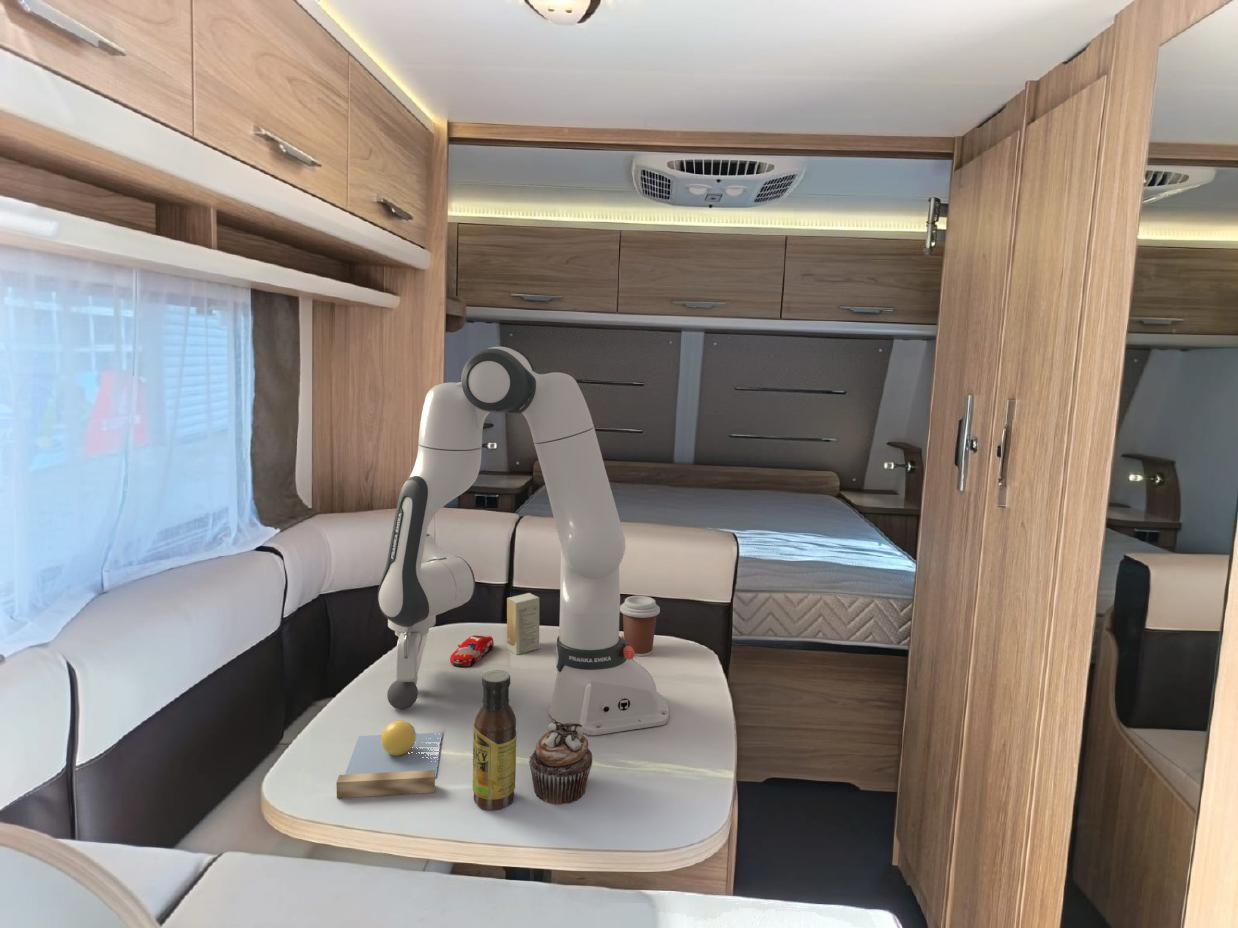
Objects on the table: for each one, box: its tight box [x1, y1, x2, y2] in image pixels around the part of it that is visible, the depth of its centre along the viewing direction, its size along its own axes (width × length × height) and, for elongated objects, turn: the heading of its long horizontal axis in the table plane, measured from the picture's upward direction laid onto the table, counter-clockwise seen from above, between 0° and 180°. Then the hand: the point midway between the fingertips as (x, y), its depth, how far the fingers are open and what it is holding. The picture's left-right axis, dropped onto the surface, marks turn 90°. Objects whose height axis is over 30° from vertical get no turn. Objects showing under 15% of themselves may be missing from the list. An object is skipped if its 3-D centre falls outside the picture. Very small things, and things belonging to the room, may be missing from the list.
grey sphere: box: [386, 679, 419, 710], centre depth 139 cm, size 6×6×6 cm
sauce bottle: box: [472, 669, 517, 811], centre depth 110 cm, size 6×6×20 cm
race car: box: [449, 634, 495, 667], centre depth 164 cm, size 13×5×4 cm, turn 161°
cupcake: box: [528, 720, 593, 805], centre depth 115 cm, size 10×10×10 cm
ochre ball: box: [381, 719, 416, 756], centre depth 123 cm, size 6×6×6 cm
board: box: [344, 731, 444, 779], centre depth 123 cm, size 14×14×1 cm
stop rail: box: [336, 770, 436, 799], centre depth 113 cm, size 14×2×2 cm, turn 99°
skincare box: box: [506, 592, 540, 656], centre depth 168 cm, size 6×4×12 cm
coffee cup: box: [620, 595, 661, 658], centre depth 170 cm, size 9×9×12 cm
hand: (412, 684), depth 146 cm, fingers closed
